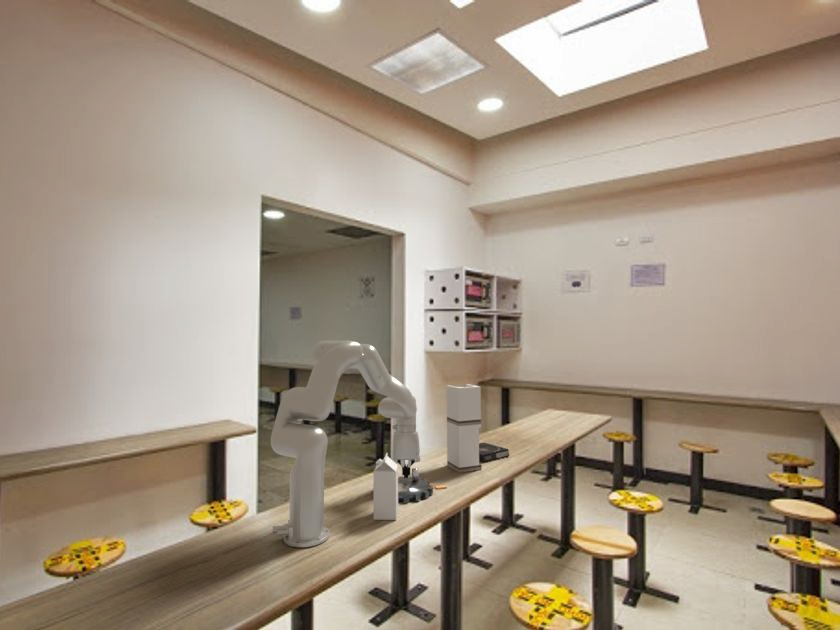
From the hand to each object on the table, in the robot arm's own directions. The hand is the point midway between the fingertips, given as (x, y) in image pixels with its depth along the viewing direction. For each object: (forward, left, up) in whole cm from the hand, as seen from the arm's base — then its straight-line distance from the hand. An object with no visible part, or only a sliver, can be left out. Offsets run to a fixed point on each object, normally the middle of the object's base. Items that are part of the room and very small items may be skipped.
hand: (406, 477), depth 172 cm
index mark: (+12, -6, -3) cm, 14 cm away
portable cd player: (+46, +29, -4) cm, 55 cm away
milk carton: (-14, -25, -4) cm, 29 cm away
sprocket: (-3, -6, -3) cm, 7 cm away
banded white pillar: (+30, +15, -4) cm, 34 cm away
